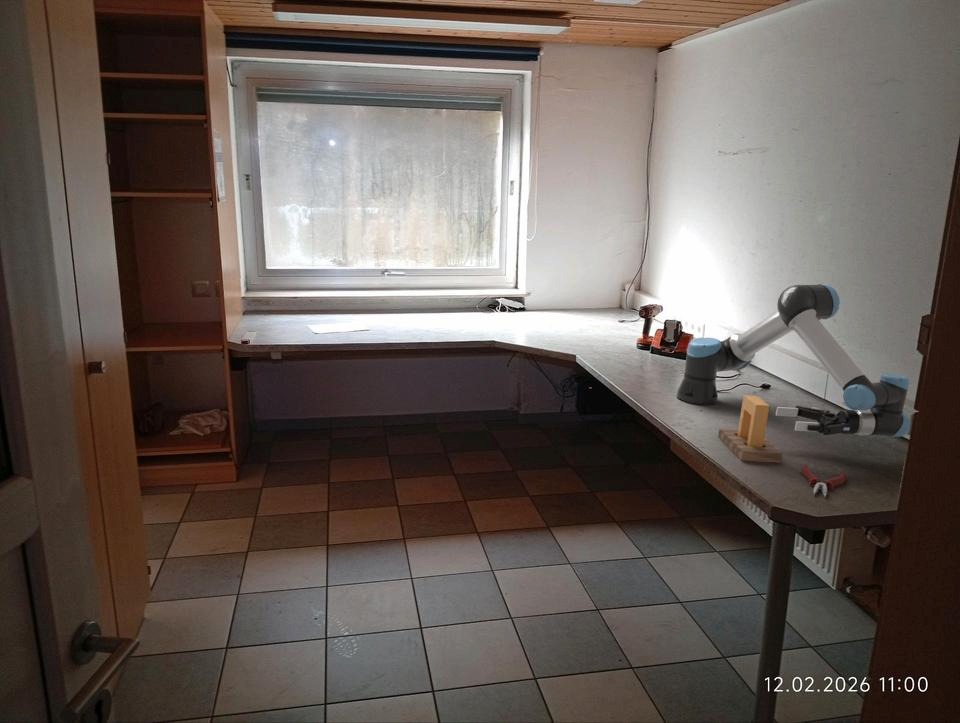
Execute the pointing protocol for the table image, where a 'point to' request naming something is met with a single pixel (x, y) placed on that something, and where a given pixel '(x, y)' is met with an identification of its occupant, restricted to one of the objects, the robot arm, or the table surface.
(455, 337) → the table surface
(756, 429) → the orange arch-shaped block
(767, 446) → the wooden slotted board
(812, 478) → the pliers
